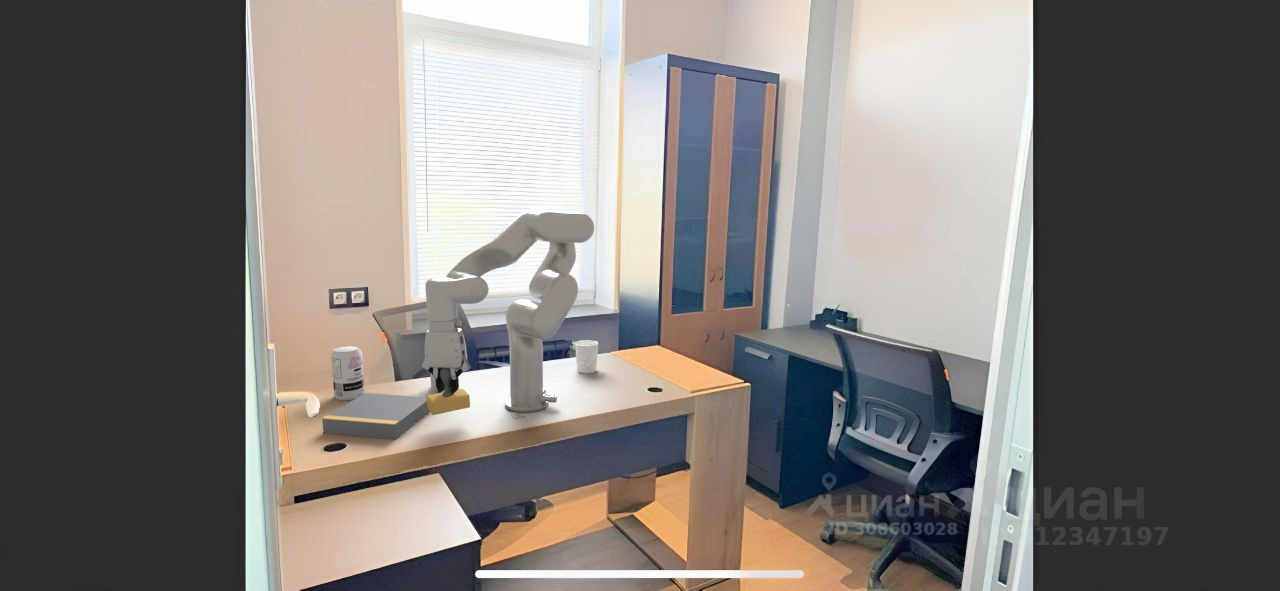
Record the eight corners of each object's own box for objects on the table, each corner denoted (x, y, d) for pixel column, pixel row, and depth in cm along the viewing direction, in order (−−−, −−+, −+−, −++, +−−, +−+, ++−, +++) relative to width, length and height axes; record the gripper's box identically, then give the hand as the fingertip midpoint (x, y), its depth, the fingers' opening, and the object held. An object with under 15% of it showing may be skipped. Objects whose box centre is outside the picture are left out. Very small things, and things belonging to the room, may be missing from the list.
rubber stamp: (463, 400, 175) (461, 359, 172) (470, 407, 170) (468, 365, 168) (427, 408, 170) (423, 365, 167) (433, 415, 165) (429, 371, 162)
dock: (431, 411, 181) (431, 397, 180) (395, 439, 162) (394, 424, 161) (366, 405, 184) (365, 392, 183) (323, 433, 164) (322, 418, 164)
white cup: (596, 374, 218) (597, 346, 216) (574, 373, 218) (574, 345, 216) (598, 367, 225) (599, 340, 223) (576, 366, 225) (576, 339, 223)
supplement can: (340, 392, 195) (337, 344, 192) (368, 392, 195) (365, 345, 192) (330, 401, 187) (326, 352, 184) (359, 401, 187) (355, 352, 184)
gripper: (478, 322, 168) (482, 388, 172) (420, 320, 170) (425, 385, 174) (467, 330, 160) (471, 398, 164) (406, 327, 163) (412, 395, 167)
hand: (447, 391), depth 169 cm, fingers closed on rubber stamp, 3 cm apart
